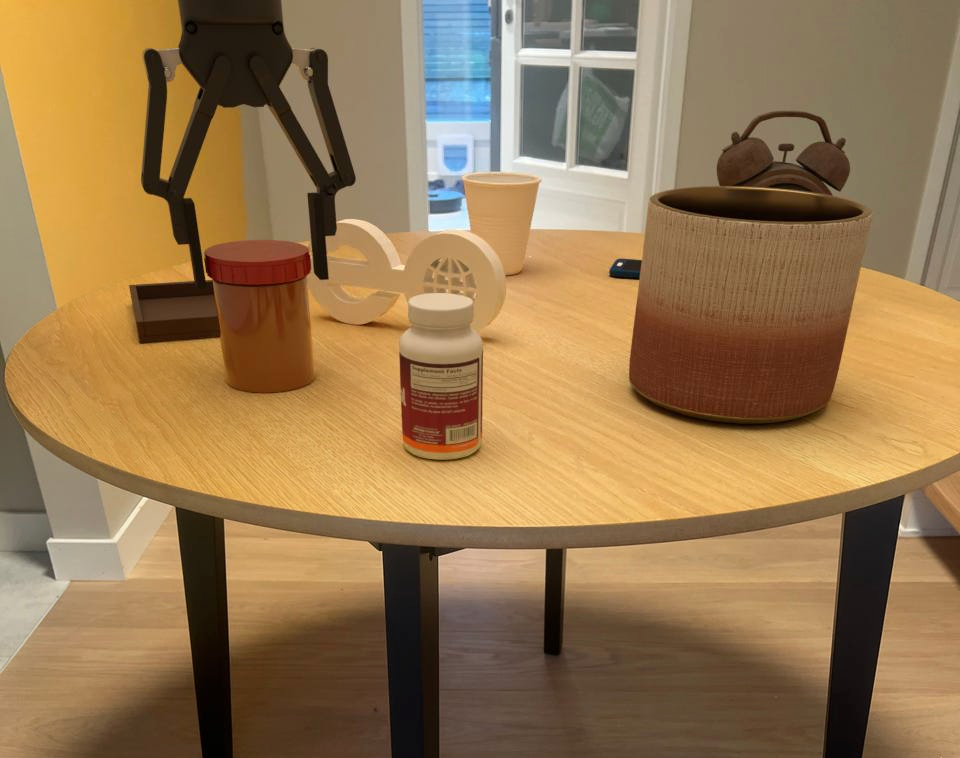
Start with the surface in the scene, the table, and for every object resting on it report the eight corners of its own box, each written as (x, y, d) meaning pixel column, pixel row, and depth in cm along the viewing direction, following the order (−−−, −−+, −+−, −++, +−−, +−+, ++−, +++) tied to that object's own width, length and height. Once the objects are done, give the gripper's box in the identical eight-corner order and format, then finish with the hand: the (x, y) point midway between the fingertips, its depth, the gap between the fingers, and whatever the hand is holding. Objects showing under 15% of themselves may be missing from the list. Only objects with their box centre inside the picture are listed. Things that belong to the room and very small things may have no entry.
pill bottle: (418, 427, 76) (415, 286, 70) (491, 437, 75) (495, 293, 69) (390, 456, 71) (384, 307, 65) (467, 467, 70) (469, 315, 64)
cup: (445, 269, 122) (444, 176, 116) (498, 258, 128) (500, 169, 122) (500, 283, 116) (502, 186, 110) (552, 271, 122) (558, 178, 116)
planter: (874, 409, 82) (925, 213, 73) (717, 445, 74) (754, 231, 65) (733, 353, 94) (762, 180, 85) (587, 379, 87) (603, 192, 78)
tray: (139, 343, 94) (135, 321, 93) (132, 304, 106) (128, 284, 105) (274, 332, 98) (272, 311, 96) (252, 295, 110) (250, 277, 108)
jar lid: (212, 288, 76) (209, 264, 75) (201, 264, 83) (198, 242, 82) (320, 281, 78) (318, 258, 77) (300, 258, 85) (298, 237, 84)
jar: (231, 396, 81) (214, 269, 76) (220, 368, 88) (204, 249, 82) (323, 387, 84) (313, 263, 78) (306, 361, 90) (295, 244, 84)
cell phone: (615, 263, 126) (616, 257, 126) (721, 271, 123) (722, 265, 123) (607, 276, 120) (608, 269, 120) (718, 284, 117) (719, 278, 117)
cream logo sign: (504, 339, 97) (507, 235, 91) (496, 344, 95) (499, 239, 90) (319, 313, 104) (312, 214, 98) (309, 317, 102) (300, 218, 97)
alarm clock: (701, 317, 105) (731, 113, 94) (687, 301, 111) (714, 107, 100) (829, 319, 106) (874, 115, 94) (809, 302, 112) (848, 109, 100)
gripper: (61, -47, 62) (128, 301, 75) (387, -38, 69) (398, 281, 81) (62, -43, 68) (124, 279, 81) (362, -35, 75) (376, 262, 87)
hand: (261, 280), depth 81 cm, fingers open, 10 cm apart
